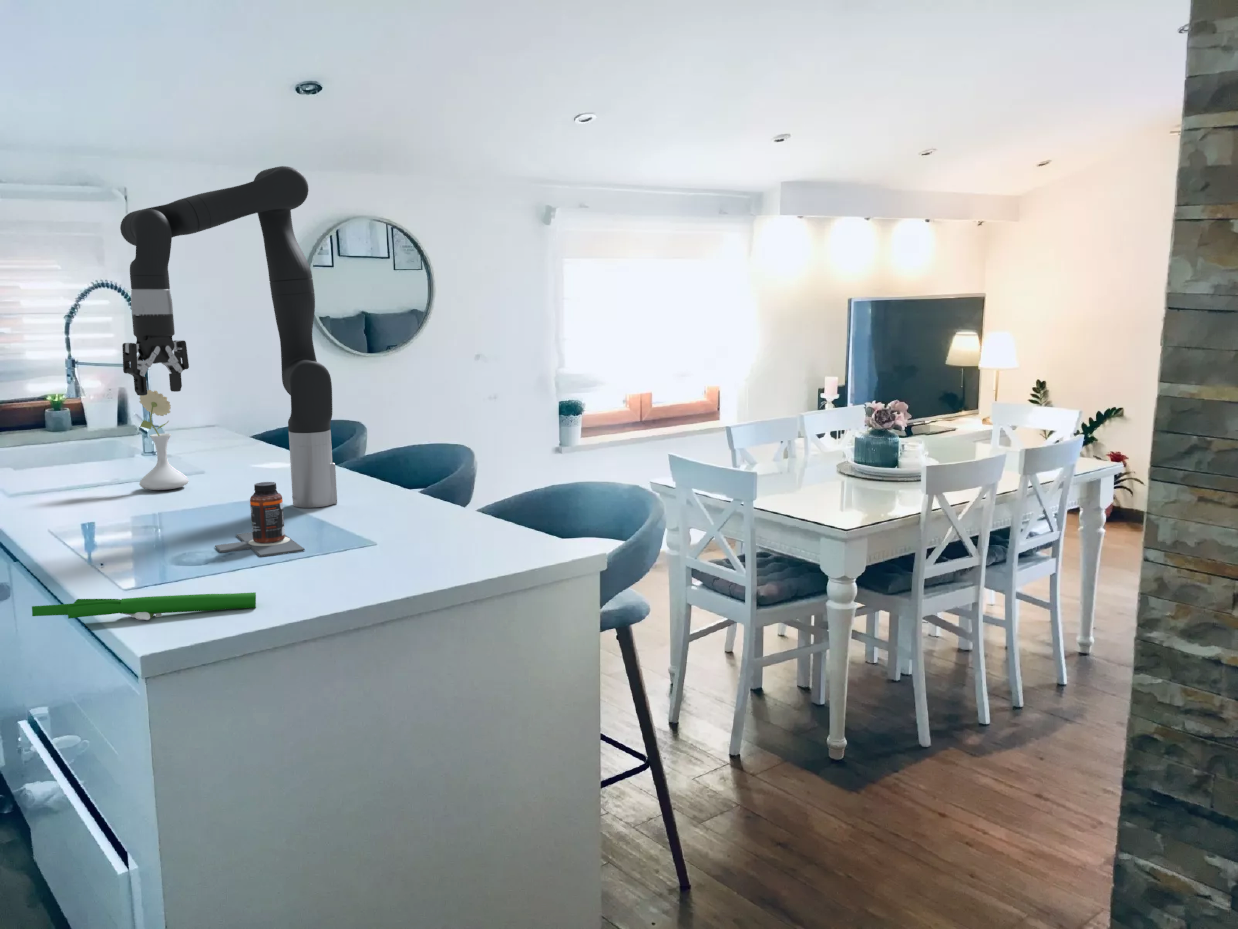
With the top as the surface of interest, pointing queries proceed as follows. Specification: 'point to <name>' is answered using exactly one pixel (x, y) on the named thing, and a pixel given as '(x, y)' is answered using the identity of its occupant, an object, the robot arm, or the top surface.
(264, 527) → the supplement bottle
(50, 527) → the top surface
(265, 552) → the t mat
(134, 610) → the green onion
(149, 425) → the flower in vase
